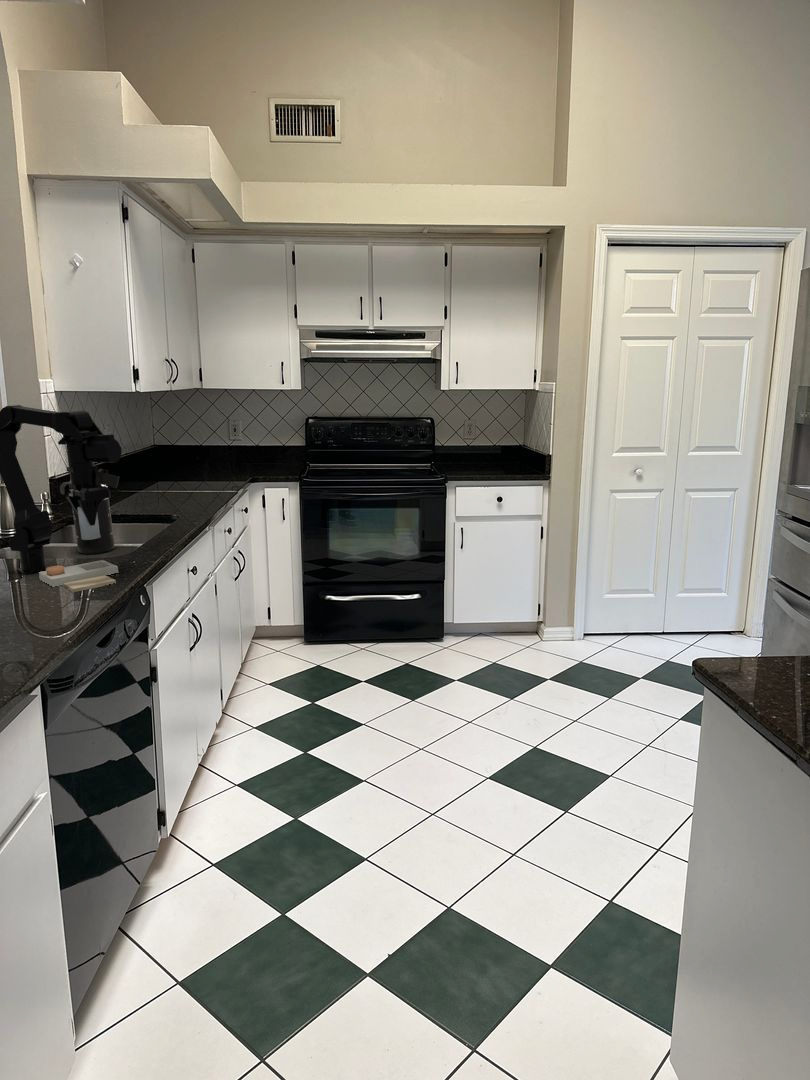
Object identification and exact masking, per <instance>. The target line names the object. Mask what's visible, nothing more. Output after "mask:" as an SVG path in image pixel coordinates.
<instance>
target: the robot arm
mask: <svg viewBox="0 0 810 1080" xmlns="http://www.w3.org/2000/svg"><path fill="white" fill-rule="evenodd" d="M23 424H27V425H33V426H38V427H45V428H49V429H52V430H54V431H55V432H56V433H59V434H62V438H60V439H59V440H58V441H57V445H65V448H66V455H67V463H68V466H66V472H69V476H70V480H71V482H70V481H65V482H62V483H61V484H60V486H59V491H60V494H61V495H65V498H66V499H67V500H68V502H69V503H70V505H71V507H72V506H73V508H74V509H75V511H76V512H77V514H78V509H77V507H81V509H82V511H83V513H84V515H85V517H86V519H87V521H88V523H89V524H90V526H92V525H95V521H96V515H97V510H98V505H99V504H100V503H101V502H102V500H104V499H105V498H109V499H110V498H111V497H112V496H111V495H112V494H111V489H110V488H112V489H113V488H114V489H117V488H118V485H119V481H120V476H119V475H114V474H110V473H109V470H108V469H103V468H99V466H97V465H95V464H94V463H117V462H119V460H120V459H121V456H122V452H123V451H122V446H121V445H120V443H119V441H118V440H116V439H115V435H114V433H109V434H104V433H103V432H102V431H101V430H100V428H99V427H98V425H97V424H96V423H95V421H94V420H93V419H92V416H91V415H90V412H88V411H86V410H73V411H72V410H71V411H70V410H68V411H55V410H54V411H53V410H47V409H42V408H40V409H39V408H36V407H35V408H34V407H29V406H22V405H20V404H15V405H6V406H4V407H2V408H1V409H0V476H1V479H2V482H3V483H4V487H5V489H6V492H7V494H8V496H9V499H10V501H11V504H12V507H13V509H14V512H15V516H14V519H13V520H14V521H13V527H14V531H15V533H14V535H13V536H12V537H11V539H10V540H9V542H8V546H9V549H10V550H11V552H18V553H19V559H20V566H21V567H18V568H17V571H18V570H19V571H18V572H20V571H21V572H20V573H22V572H23V573H29V574H32V573H31V572H35V573H37V572H36V571H40V572H42V571H41V570H45V571H46V568H48V567H49V566H48V565H46V558H45V552H44V546H46V545H47V546H48V545H50V543H51V539H52V538H51V537H52V534H53V533H54V529H53V525H54V523H53V522H52V520H51V518H50V515H49V512H48V511H47V510H46V509H45V510H41V509H40V508H39V507H37V506H36V503H35V501H34V498H33V495H32V494H31V491H30V489H29V486H28V483H27V480H26V478H25V475H24V472H23V471H22V468H21V466H20V462H19V460H18V458H17V455H16V453H17V447H18V440H17V436H16V435H17V434H18V433H19V432H20V431H21V430H22V425H23ZM101 484H103V485H105V486H107V487H108V488H107V487H105V486H101ZM67 494H68V495H67ZM23 573H22V574H23Z"/></svg>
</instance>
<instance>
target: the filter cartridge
mask: <svg viewBox="0 0 810 1080" xmlns="http://www.w3.org/2000/svg"><path fill="white" fill-rule="evenodd" d="M77 509H78V516H79V524H80V531H81V539H83V540H91V539H97V538H100V531H99V524H98V516H97V515H96V521H95V525H92V526H90V524H89V523H88V521H87V519H86V517H85V515H84V513H83V511H82V509H81V507H77Z"/></svg>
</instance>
